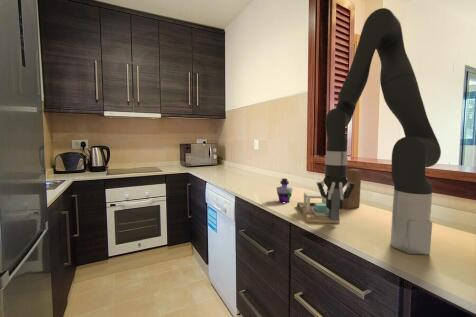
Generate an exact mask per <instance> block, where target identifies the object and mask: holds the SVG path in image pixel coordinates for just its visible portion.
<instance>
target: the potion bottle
mask: <svg viewBox="0 0 476 317" xmlns="http://www.w3.org/2000/svg"><path fill="white" fill-rule="evenodd" d="M280 184H281V186H277V187H276V193H277V196H278V202H279V201H280V202H279V203H281V202H286V203H285V204H288V203H290V200H291V198H292V194H293V193H292V192H293V187H289V186H288V185H289V180H288V178H281V180H280Z"/></svg>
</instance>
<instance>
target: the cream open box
mask: <svg viewBox="0 0 476 317" xmlns="http://www.w3.org/2000/svg"><path fill="white" fill-rule="evenodd" d="M326 193H327V192H325V194H326ZM311 199H321V203H325V204H326V198H324V197H322V196H321V194H320V192H316V191H315V192H313V191H311V192H310V191H306V192H304V191H303V203H304V207H306V203H307V211H310V203H311ZM327 209H328V208H327ZM328 210H329V209H328Z"/></svg>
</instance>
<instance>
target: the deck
mask: <svg viewBox="0 0 476 317" xmlns="http://www.w3.org/2000/svg"><path fill="white" fill-rule="evenodd" d="M315 203H316V202H310V211H307V203H306V207H304V202H303V201H302V202H297V203H296V206H297V208H298V210H299V212H301V214H302V215H303V217H304V218H305V220H306V221H307V222H308V223H314V222H315V223H321V224H323V223H324V224H340V222H341V220H340V219H341V218H340V217H339V221H336V220H330V219H329V218H328V217H321V216H314V215H313V213H312V212H311V208H314V207H315Z"/></svg>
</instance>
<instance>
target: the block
mask: <svg viewBox="0 0 476 317" xmlns="http://www.w3.org/2000/svg"><path fill="white" fill-rule="evenodd" d="M314 203H315V207H314V210H315V211H316V212H327V207H326V204H325V203H322V202H314Z"/></svg>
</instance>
